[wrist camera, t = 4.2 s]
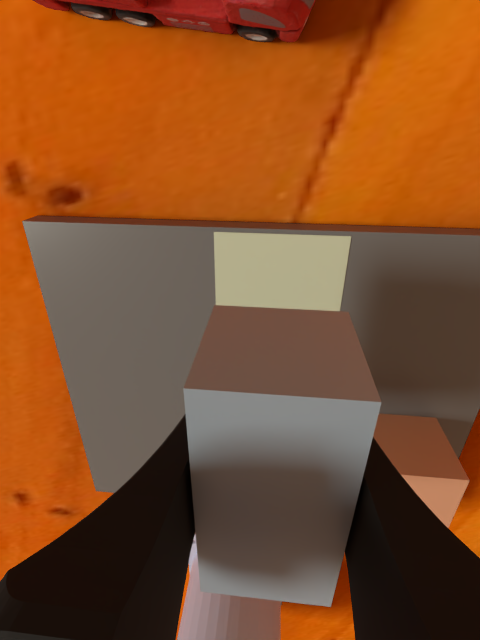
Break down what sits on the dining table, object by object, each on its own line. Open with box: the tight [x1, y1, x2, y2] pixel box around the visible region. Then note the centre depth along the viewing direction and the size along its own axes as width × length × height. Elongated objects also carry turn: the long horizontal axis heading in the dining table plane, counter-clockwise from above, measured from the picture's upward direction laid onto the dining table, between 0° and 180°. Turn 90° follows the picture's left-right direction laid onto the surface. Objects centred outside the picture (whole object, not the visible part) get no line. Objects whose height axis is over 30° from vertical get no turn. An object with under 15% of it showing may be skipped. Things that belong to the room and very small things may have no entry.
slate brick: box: [183, 305, 381, 607], centre depth 11 cm, size 8×4×4 cm, turn 0°
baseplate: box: [22, 216, 480, 493], centre depth 21 cm, size 19×23×1 cm
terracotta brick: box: [373, 414, 470, 528], centre depth 20 cm, size 8×4×4 cm, turn 0°
